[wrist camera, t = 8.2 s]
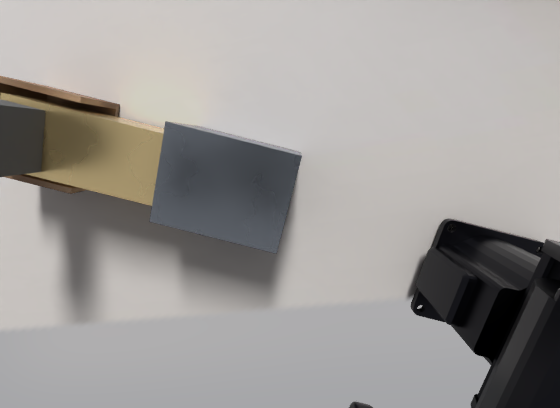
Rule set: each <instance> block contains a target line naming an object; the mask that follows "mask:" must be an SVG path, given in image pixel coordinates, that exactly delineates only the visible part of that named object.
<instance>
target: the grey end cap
mask: <svg viewBox="0 0 560 408" xmlns="http://www.w3.org/2000/svg"><path fill="white" fill-rule="evenodd" d="M301 157H302V155H301V153H300V152H298V151H294V150H290V149H286V148H282V147H278V146H274V145H270V144H266V143H263V142H259V141H255V140H251V139H247V138H243V137H239V136H235V135H231V134H227V133H223V132H219V131H215V130H211V129H207V128H203V127H199V126H193V125H186V124H179V123H173V122H165V128H164V134H163V140H162V147H161V153H160V159H159V165H158V171H157V178H156V184H155V190H154V196H153V203H152V209H151V215H150V221H149V222H153V223H157V224H161V225H165V226H169V227H173V228H176V229H180V230H184V231H188V232H192V233H196V234H200V235H204V236H208V237H212V238H216V239H220V240H224V241H228V242H232V243H236V244H240V245H244V246H248V247H252V248H256V249H260V250H264V251H268V252H272V253H277V249H278V246H279V242H280V238H281V234H282V230H283V226H284V223H285V219H286V215H287V211H288V207H289V203H290V199H291V196H292V192H293V188H294V184H295V180H296V176H297V173H298V169H299V165H300V161H301Z"/></svg>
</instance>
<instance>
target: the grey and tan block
mask: <svg viewBox="0 0 560 408" xmlns="http://www.w3.org/2000/svg"><path fill="white" fill-rule="evenodd" d="M163 134H164V128H160V127H156V126H152V125H148V124H144V123H140V122H136V121H132V120H128V119H124V118H120V117H116V116H112V115H108V114H104V113H100V112H96V111H92V110H88V109H84V108H80V107H77V106H73V105H69V104H65V103H61V102H56V101H50V100H43V99H37V98H31V97H25V96H19V95H13V94H7V93H1V95H0V177H5V176H13V175H21V174H27V175H31V176H35V177H39V178H43V179H47V180H51V181H55V182H59V183H63V184H67V185H71V186H75V187H79V188H83V189H86V190H90V191H94V192H98V193H102V194H106V195H110V196H114V197H118V198H122V199H126V200H130V201H134V202H138V203H142V204H146V205H150V206H152V203H153V196H154V190H155V184H156V178H157V171H158V165H159V159H160V153H161V147H162V140H163Z"/></svg>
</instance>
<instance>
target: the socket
mask: <svg viewBox="0 0 560 408" xmlns="http://www.w3.org/2000/svg"><path fill="white" fill-rule="evenodd" d="M1 93H7V94H13V95H19V96H25V97H31V98H37V99H43V100H50V101H56V102H61V103H65V104H69V105H73V106H77V107H80V108H84V109H88V110H92V111H96V112H100V113H104V114H108V115H112V116H116V117H118V114H119V106H120V105H119V104H115V103H111V102H107V101H103V100H99V99H95V98H92V97H88V96H84V95H80V94H76V93H72V92H68V91H64V90H60V89H56V88H52V87H48V86H44V85H39V84H35V83H30V82H26V81H21V80H17V79H12V78H7V77H3V76H0V95H1ZM5 177H6V178H10V179H14V180H18V181H22V182H26V183H30V184H34V185H38V186H42V187H46V188H50V189H54V190H58V191H62V192H66V193H70V194H72V193H76V192H81V191H85V190H86V189H83V188H79V187H75V186H71V185H67V184H63V183H59V182H55V181H51V180H47V179H43V178H39V177H35V176H31V175H27V174H21V175H13V176H5Z"/></svg>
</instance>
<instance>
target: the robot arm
mask: <svg viewBox="0 0 560 408" xmlns="http://www.w3.org/2000/svg"><path fill="white" fill-rule="evenodd" d="M451 224H452V225H453V228H452V229H451V230H448V226H449V225H451ZM538 247H540V249H539V251H537V252H536V249H537V248H538ZM416 286H417V289H416V292H415V294H414V297H413V300H412V302H411V309H412V310H413V312H414V313H415V314H416V315H419V316H422V317H426V318H430V319H435V320H438V321H442V322H446V323H447V324H449V325H451V326H452V327H453V328H454V329H455V331H456V332H457V333H458V334H459V335H460V336H461V337H462V339H463V340H464V341H465V342H466V344H467V345H468V346H469V347H470V348H471V349H472V351H473V352H474V353H475V354H477V355H479V356H483V357H484V358H485V359H486V360H487V361H488V362H489V363H490V365H491V367H490V369H489V372H488V374H487V376H486V378H485V380H484V383H483V385H482V387H481V389H480V391H479V393H478V394H476V395H474V398H473V400H472V402H471V408H560V242H557V241H553V240H549V239H546V240H545V243H543V242H540V241H537V240H533V239H529V238H526V237H522V236H518V235H514V234H510V233H506V232H502V231H498V230H494V229H490V228H486V227H482V226H478V225H474V224H470V223H466V222H462V221H458V220H454V219H446V220H444V221H443V222H442V223H441V225H440V228H439V230H438V233H437V236H436V238H435V241H434V244H433V246H432V248H431V249H429V250H428V253H427V255H426V258H425V261H424V263H423V266H422V269H421V272H420V274H419V277H418V280H417V282H416ZM419 305H423V306H422V308H420V309H417V307H418V306H419ZM349 408H373V407H371V406H370V405H367V404H363V403H359V402H353V403H352V404H351V405H350V407H349Z"/></svg>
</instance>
